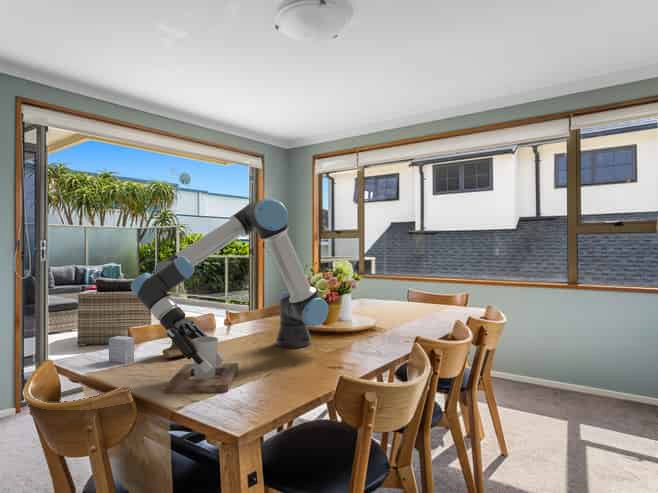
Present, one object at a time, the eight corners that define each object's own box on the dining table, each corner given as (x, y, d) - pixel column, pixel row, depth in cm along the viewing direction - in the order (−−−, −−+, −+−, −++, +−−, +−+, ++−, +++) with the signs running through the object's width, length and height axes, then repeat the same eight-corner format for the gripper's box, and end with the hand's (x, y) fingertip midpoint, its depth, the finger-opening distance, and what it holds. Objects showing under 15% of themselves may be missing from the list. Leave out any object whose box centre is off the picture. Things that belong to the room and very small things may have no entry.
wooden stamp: (189, 348, 170) (189, 312, 169) (206, 353, 162) (206, 315, 162) (154, 355, 158) (154, 317, 158) (170, 361, 150) (170, 320, 150)
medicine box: (134, 360, 151) (134, 337, 151) (125, 364, 147) (125, 339, 147) (118, 358, 154) (118, 335, 154) (108, 361, 150) (108, 338, 149)
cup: (195, 373, 134) (195, 336, 134) (219, 372, 135) (220, 336, 135) (188, 381, 126) (189, 342, 126) (215, 380, 127) (215, 342, 127)
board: (238, 368, 142) (238, 362, 142) (228, 391, 120) (228, 384, 120) (185, 369, 141) (185, 363, 141) (165, 393, 119) (165, 386, 119)
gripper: (178, 316, 143) (221, 364, 140) (141, 327, 123) (191, 385, 120) (192, 301, 142) (235, 350, 139) (157, 310, 122) (208, 368, 119)
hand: (215, 366), depth 130 cm, fingers closed on cup, 7 cm apart
